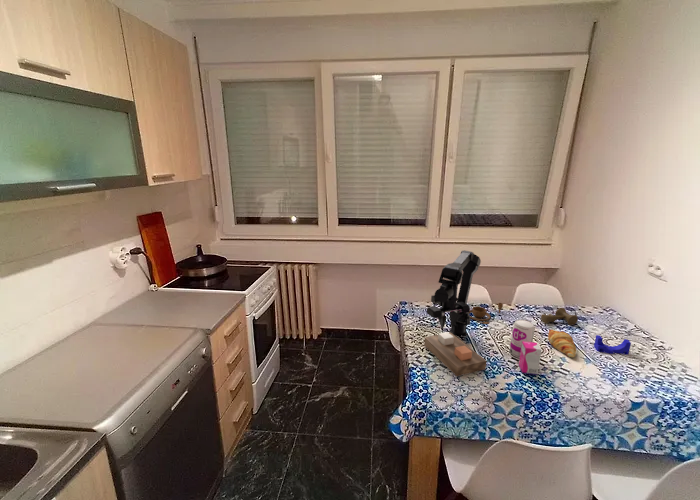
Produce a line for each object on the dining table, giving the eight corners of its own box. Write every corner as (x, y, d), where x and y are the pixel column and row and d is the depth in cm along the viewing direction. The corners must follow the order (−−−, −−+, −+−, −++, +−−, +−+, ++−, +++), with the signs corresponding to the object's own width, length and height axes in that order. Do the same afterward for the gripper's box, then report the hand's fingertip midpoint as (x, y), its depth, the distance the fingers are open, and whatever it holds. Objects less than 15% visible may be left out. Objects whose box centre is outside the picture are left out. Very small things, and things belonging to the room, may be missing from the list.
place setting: (464, 309, 190) (465, 299, 189) (501, 312, 187) (502, 302, 186) (470, 323, 174) (471, 313, 172) (510, 326, 171) (511, 316, 169)
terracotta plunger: (463, 352, 140) (464, 345, 139) (471, 359, 136) (472, 351, 135) (454, 354, 139) (455, 347, 138) (461, 361, 134) (462, 353, 133)
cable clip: (597, 351, 149) (599, 339, 147) (593, 346, 153) (596, 335, 151) (629, 357, 145) (632, 344, 143) (625, 351, 149) (628, 339, 147)
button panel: (449, 339, 157) (450, 332, 156) (485, 369, 135) (486, 360, 134) (424, 345, 152) (424, 337, 151) (456, 376, 130) (457, 367, 129)
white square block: (446, 338, 151) (447, 331, 150) (453, 344, 147) (453, 337, 146) (437, 340, 150) (438, 333, 149) (444, 346, 145) (444, 338, 144)
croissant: (578, 367, 143) (591, 353, 141) (558, 356, 142) (571, 342, 140) (554, 340, 163) (564, 328, 161) (536, 330, 163) (547, 318, 160)
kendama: (536, 319, 179) (569, 316, 182) (549, 328, 170) (583, 325, 173) (537, 309, 177) (571, 306, 180) (551, 318, 168) (585, 314, 171)
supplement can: (521, 361, 140) (527, 329, 136) (505, 351, 148) (509, 321, 144) (534, 356, 144) (539, 325, 140) (517, 347, 151) (522, 317, 147)
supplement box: (533, 366, 137) (537, 342, 134) (537, 375, 131) (542, 350, 128) (518, 364, 138) (522, 340, 135) (521, 373, 133) (526, 348, 130)
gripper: (456, 285, 152) (453, 316, 157) (421, 290, 146) (418, 322, 150) (472, 294, 142) (468, 327, 146) (435, 300, 136) (432, 334, 140)
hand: (446, 327), depth 146 cm, fingers open, 5 cm apart
